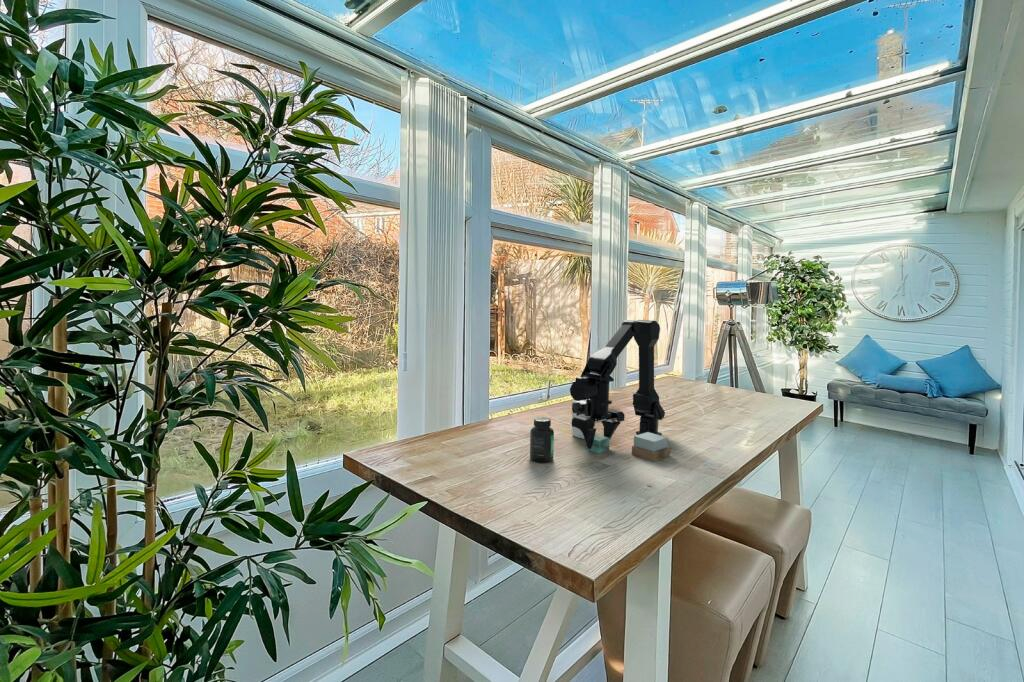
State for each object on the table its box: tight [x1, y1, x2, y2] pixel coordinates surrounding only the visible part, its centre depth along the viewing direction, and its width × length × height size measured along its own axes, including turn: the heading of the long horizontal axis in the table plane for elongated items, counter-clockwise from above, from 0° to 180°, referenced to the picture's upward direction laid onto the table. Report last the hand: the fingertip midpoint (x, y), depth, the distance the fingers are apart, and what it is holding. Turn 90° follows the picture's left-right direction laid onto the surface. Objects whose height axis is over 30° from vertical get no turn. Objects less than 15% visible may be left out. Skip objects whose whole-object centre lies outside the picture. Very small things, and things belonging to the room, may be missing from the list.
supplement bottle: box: [529, 416, 555, 464], centre depth 132 cm, size 7×7×12 cm
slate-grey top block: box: [633, 432, 669, 452], centre depth 138 cm, size 7×7×3 cm
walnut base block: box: [631, 445, 671, 463], centre depth 138 cm, size 8×8×3 cm
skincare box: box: [571, 400, 590, 440], centre depth 155 cm, size 6×4×12 cm
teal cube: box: [585, 433, 611, 454], centre depth 142 cm, size 5×5×4 cm
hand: (597, 446), depth 142 cm, fingers open, 8 cm apart
